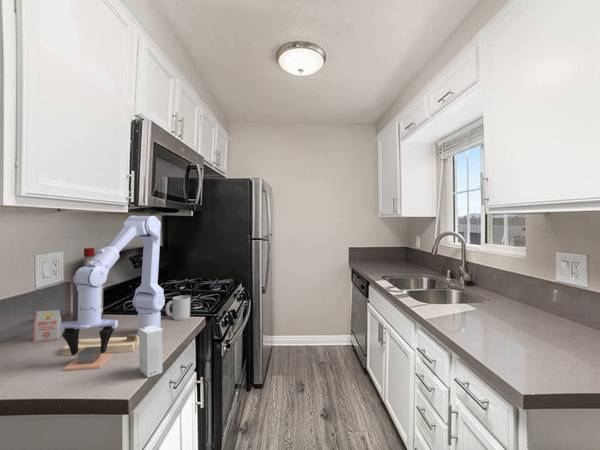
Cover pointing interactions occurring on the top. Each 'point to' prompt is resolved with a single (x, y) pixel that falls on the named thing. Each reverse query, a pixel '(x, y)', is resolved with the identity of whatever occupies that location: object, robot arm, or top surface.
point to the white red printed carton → (47, 325)
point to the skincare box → (150, 350)
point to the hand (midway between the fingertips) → (89, 352)
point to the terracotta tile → (95, 365)
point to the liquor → (87, 257)
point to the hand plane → (113, 345)
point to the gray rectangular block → (89, 355)
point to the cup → (179, 308)
